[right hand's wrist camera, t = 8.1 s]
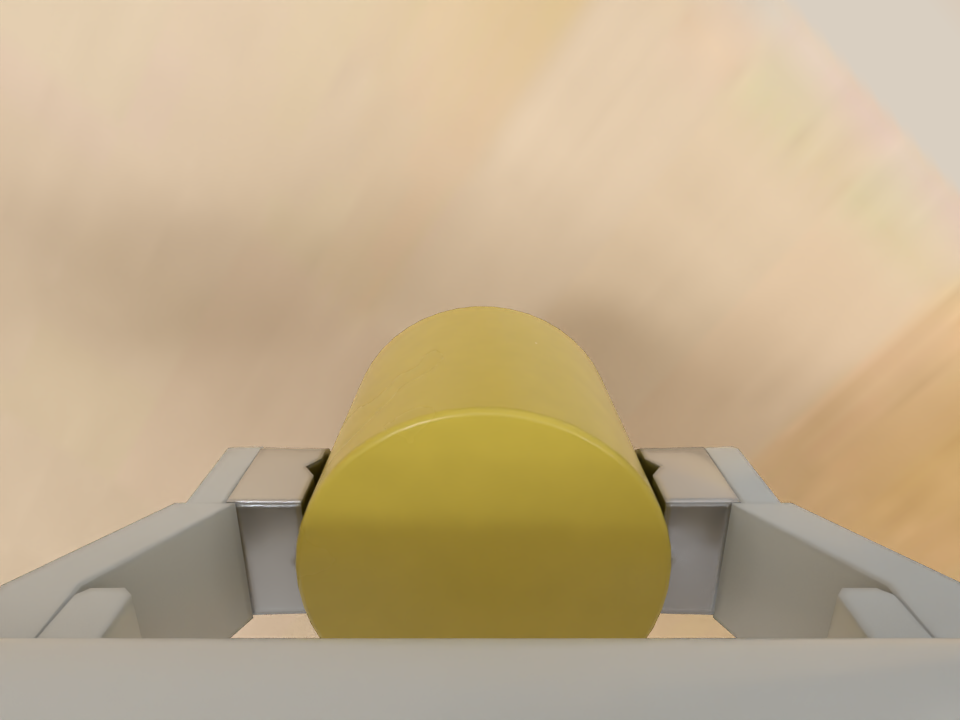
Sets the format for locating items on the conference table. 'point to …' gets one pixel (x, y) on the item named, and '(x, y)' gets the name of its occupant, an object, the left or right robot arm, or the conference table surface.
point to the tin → (483, 495)
